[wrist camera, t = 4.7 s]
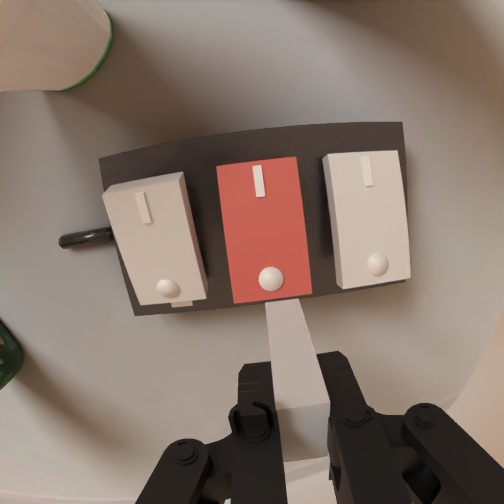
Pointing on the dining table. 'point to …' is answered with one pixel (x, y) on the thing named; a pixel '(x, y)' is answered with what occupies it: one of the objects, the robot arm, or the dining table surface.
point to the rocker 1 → (157, 238)
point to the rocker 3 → (367, 217)
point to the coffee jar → (8, 357)
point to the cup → (51, 43)
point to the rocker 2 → (264, 229)
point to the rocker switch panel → (209, 206)
